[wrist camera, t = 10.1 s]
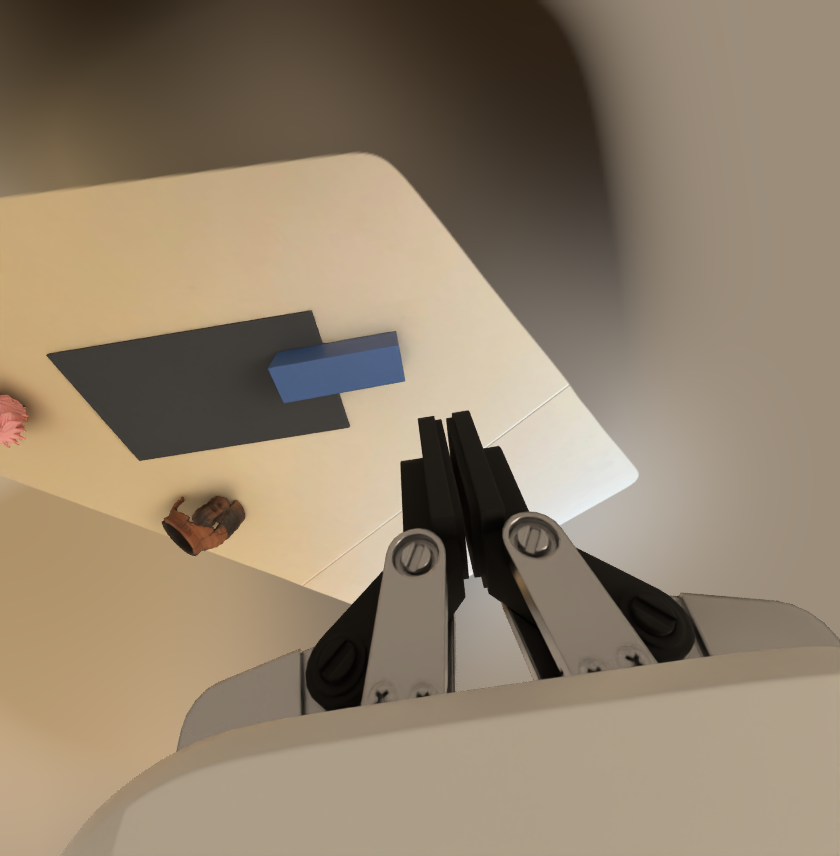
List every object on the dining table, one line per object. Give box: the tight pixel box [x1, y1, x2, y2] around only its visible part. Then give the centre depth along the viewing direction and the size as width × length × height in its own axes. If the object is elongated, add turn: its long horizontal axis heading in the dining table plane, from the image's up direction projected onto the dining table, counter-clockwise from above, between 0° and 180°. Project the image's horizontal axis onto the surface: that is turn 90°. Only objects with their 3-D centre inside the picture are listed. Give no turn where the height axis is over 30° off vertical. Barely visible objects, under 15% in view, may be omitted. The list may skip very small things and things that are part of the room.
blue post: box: [268, 331, 405, 403], centre depth 37 cm, size 4×4×14 cm
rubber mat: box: [46, 311, 350, 461], centre depth 41 cm, size 16×30×1 cm, turn 98°
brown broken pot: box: [162, 496, 245, 556], centre depth 50 cm, size 12×10×8 cm
